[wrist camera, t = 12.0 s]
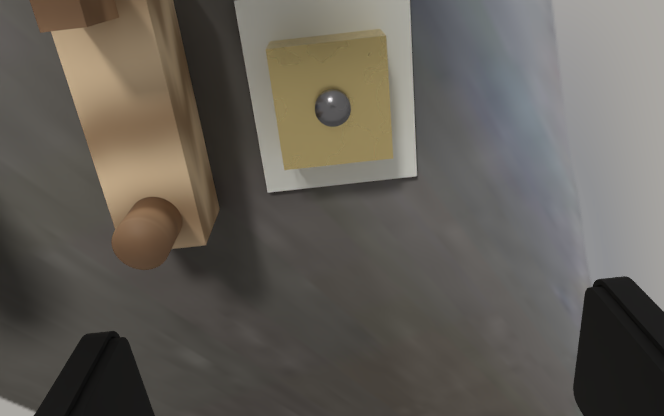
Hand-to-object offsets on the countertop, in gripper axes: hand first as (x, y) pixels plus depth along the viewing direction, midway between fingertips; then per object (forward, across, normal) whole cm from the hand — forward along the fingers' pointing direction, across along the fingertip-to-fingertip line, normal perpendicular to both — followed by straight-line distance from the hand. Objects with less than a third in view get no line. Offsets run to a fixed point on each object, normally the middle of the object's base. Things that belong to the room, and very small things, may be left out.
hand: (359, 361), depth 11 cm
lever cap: (+24, 0, 0) cm, 24 cm away
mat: (+24, 0, 0) cm, 24 cm away
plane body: (+24, +11, -1) cm, 26 cm away
